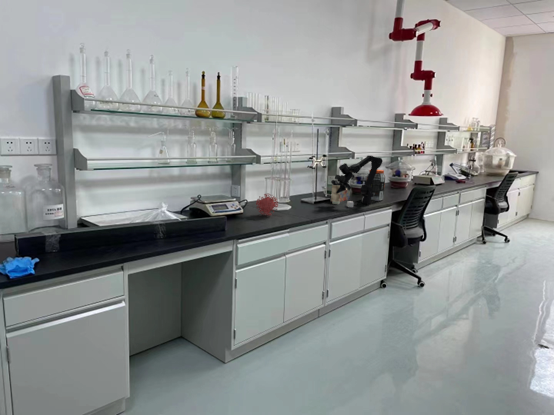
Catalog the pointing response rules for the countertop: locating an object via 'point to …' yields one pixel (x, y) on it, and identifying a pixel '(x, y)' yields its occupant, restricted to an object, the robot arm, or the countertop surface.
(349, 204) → the grey cube
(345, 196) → the stack of blocks
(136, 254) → the countertop surface
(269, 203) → the virus model
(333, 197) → the beech block
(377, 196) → the supplement tub
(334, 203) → the sage cube
